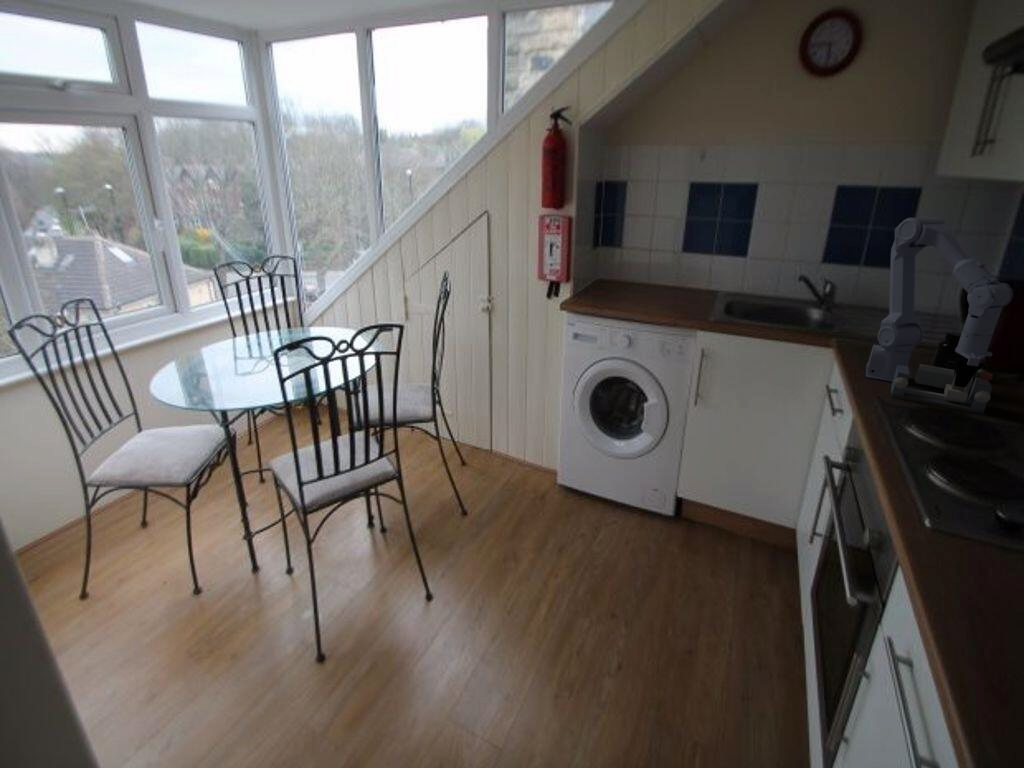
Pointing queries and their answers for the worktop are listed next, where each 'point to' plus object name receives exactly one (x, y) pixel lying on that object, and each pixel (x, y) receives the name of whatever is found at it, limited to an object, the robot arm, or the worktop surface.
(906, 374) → the rail stand
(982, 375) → the plunger
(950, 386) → the carriage
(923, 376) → the skincare box
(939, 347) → the supplement bottle
